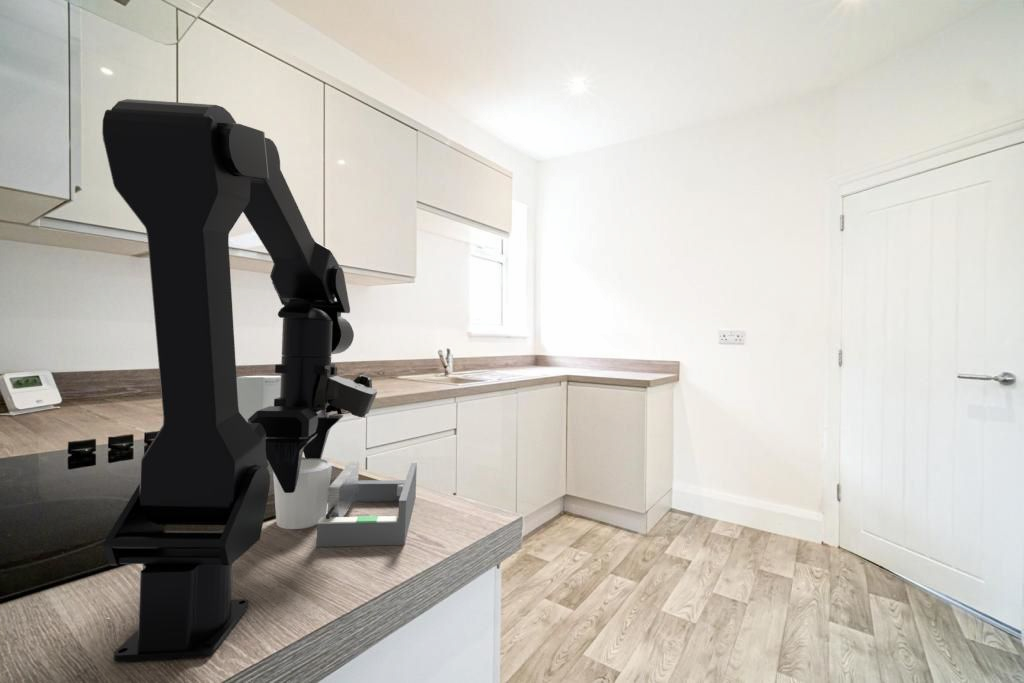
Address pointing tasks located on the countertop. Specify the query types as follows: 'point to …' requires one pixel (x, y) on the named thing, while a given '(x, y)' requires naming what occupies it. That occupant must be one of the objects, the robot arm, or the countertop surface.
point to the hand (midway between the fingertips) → (302, 480)
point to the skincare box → (256, 393)
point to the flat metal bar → (343, 491)
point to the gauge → (373, 527)
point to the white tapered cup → (304, 496)
